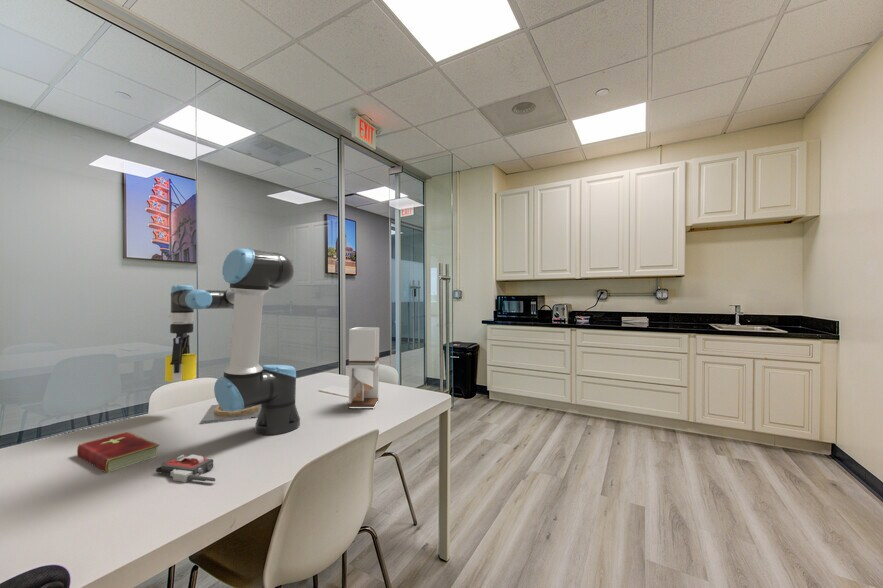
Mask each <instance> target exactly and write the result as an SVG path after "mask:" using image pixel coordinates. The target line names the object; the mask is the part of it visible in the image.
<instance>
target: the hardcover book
mask: <svg viewBox="0 0 883 588" xmlns="http://www.w3.org/2000/svg"><path fill="white" fill-rule="evenodd" d="M159 447H160V444H158V443H155V442H154V441H151V440H148V439H146V438H144V437H142V436H139V435H136V434H134V433H132V432H130V431H125V432H121V433H117V434H113V435H108V436H106V437H101V438H98V439H93V440H89V441H86V442H82V443H79V444H78V446H77V450H76V453H77V457H79V458H80V457H81V458H80V459H82V458H83V459H82V460H84V459H85V460H86V461H85V460H84V461H85V462H87V461H88V463H89V462H90V463H91V464H90V463H89V464H90V465H92V464H93V465H92V466H94V465H95V466H96V468H97V467H98V469H99V470H101V471H102V470H103V471H102V472H104V471H105V472H104V473H105V474H109V473H111V472H113V470H114V471H116V469H117V470H120V469H123V468H126V467H129V466H131V465H135V464H137V463H141V462H145V461H147V459H148V460H150V458H151V459H153V457H154V458H156V456H157V455H158V454H157V453H158V448H159ZM144 460H145V461H144ZM95 466H94V467H95ZM110 471H111V472H110ZM108 472H109V473H108Z"/></svg>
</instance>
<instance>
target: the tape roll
mask: <svg viewBox="0 0 883 588" xmlns="http://www.w3.org/2000/svg"><path fill="white" fill-rule="evenodd" d="M164 360H165V361H164V362H165V364H164V365H165V366H164V368H165V369H164V381H165V382H169V383H170V382H171V383H174V382H175V383H176V382H177V383H178V382H179V381H173V365H170V363H171V361H172V354H170V355H165V359H164ZM181 364H182V381H181V382H185V381H191V380H194V379H196V378H197V354H196V353H190V354H182V360H181Z"/></svg>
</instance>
